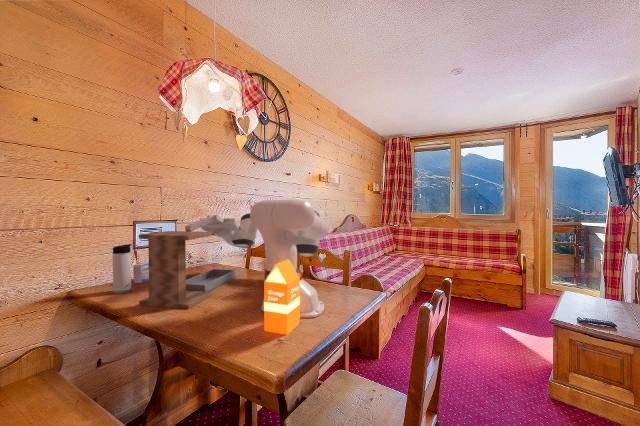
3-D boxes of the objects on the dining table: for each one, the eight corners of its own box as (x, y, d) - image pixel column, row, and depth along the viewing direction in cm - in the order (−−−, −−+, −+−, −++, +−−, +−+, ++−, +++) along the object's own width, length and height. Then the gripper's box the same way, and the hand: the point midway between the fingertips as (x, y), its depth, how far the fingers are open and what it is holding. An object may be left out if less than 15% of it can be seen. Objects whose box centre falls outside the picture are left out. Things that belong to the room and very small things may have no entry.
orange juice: (300, 322, 88) (300, 259, 87) (287, 335, 80) (287, 265, 79) (278, 319, 90) (278, 258, 90) (263, 330, 82) (263, 263, 82)
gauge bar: (218, 219, 136) (217, 214, 136) (190, 231, 115) (190, 225, 114) (213, 219, 136) (213, 214, 136) (185, 231, 115) (184, 225, 115)
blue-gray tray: (235, 277, 143) (235, 270, 143) (205, 294, 115) (205, 285, 115) (213, 276, 145) (213, 268, 145) (177, 292, 118) (177, 283, 117)
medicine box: (141, 283, 131) (141, 265, 130) (133, 283, 131) (133, 264, 131) (154, 279, 138) (154, 261, 138) (146, 278, 139) (146, 261, 139)
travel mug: (132, 292, 118) (131, 244, 117) (112, 294, 114) (112, 246, 114) (132, 288, 123) (131, 243, 122) (113, 290, 119) (112, 244, 119)
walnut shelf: (212, 295, 114) (211, 232, 113) (188, 308, 99) (188, 235, 98) (168, 292, 117) (167, 231, 116) (139, 305, 102) (138, 234, 102)
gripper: (242, 235, 141) (230, 222, 129) (205, 234, 145) (190, 222, 133) (244, 223, 144) (233, 211, 132) (208, 223, 148) (194, 210, 136)
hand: (211, 216), depth 132 cm, fingers closed on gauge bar, 2 cm apart
